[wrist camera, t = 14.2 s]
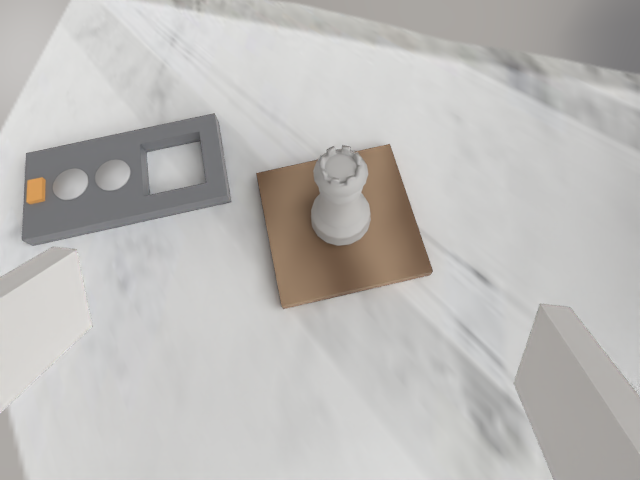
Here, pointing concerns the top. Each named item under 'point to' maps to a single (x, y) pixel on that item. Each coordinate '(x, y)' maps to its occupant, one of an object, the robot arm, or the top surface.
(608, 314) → the top surface
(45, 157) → the gray slotted board
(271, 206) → the walnut pad
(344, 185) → the rook chess piece
